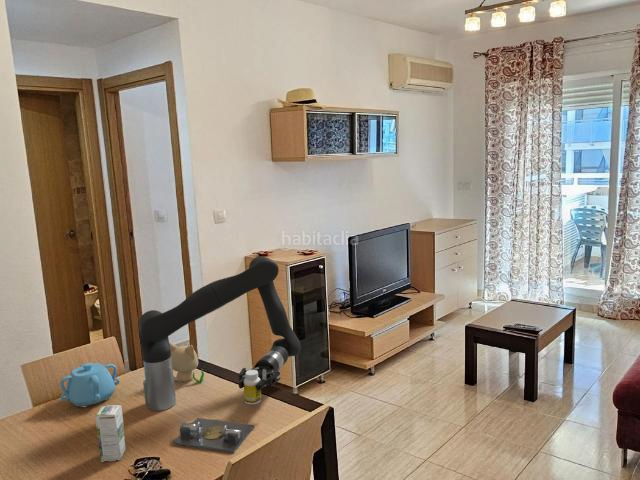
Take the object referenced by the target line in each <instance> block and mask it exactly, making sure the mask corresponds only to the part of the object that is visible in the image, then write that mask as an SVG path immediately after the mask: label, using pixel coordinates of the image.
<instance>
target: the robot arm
mask: <svg viewBox="0 0 640 480" xmlns="http://www.w3.org/2000/svg"><path fill="white" fill-rule="evenodd" d="M279 271H280V270H279V266H278V264H277V263H276V262H275V261H274V260H273V259H271V258H269V257H266V256H260V255H259V256H256V257H254V258H253V259H252V260H251V261H250V262H249V265H248V268H247V269H246V270H244V271H242V272H240V273H238V274H235V275H231V276H228V277H223V278H221V279H220V278H219V279H218V280H215V281H212V282H209V283H207V284H206V285H203V286H201V287H200V288H197V290H195V291H194V292H192V293H191V294H190V295H188V296H187V297H186V298H185V299H184V300H183V301H181V302H180V303H179V304H178V305H176V306H174V307H173V308H171V309H169V310H166V311H165V312H161V311H159V310H156V309H155V310H148V311H146V312H144V313H143V314H142V315H141V316H140V318H139V320H138V333H139V341H140V342H139V343H140V351H141V354H142V362H143V369H144V380H143V382H142V384H143V392H144V400H145V407H146V408H149V410H150V411H155V412H156V411H158V412H159V411H165V410H169V409H170V408H172V407H174V406H175V405H176V404H177V398H176V388H175V381H174V377H175V376H174V370H173V368H172V359H171V349H170V344H169V343H170V341H169V340H170V339H169V336H171V335H172V334H174V333H175V332H177V331H179V330H180V329H182V328H183V327H185V326H187V325H189V324H190V323H192V322H194V321H197V320H199V319H201V318H202V317H205V316H206V315H209V314H210V313H213V312H215V311H216V310H218V309H221V308H222V307H224V306H226V305H228V304H230V303H231V302H233V301H235V300H236V299H238V298H240V297H241V296H243V295H244V294H246V293H248V292H251V291H253V290H256V289H257V290H258V293H259V295H260V298H261V300H262V303H263V304H262V305H263V306H264V311H265V313H266V317H267V320H268V323H269V326H270V330H271V333H272V334H273V335H274V336H278V337H282V338H277V339H276V340H274V341H273V343H272V345H271V348H270V350H269V351H268V352H266V353H265V354H264V355H263V356H262V357H261V358H259V360H258V361H256V363H255V365H254V367H253V368H250V369H248V370H247V368H246V367H243V368H242V369H241V370H240V372H239V374H238V382H237V383H238V388H239V389H241V390H242V389H244V379H245V378H246V374H245V373H246V372H247V371H249V370H256V371H258V377H259V378H260V381H259V382H258V383H257V385H256V389H257V391H259V390H260V389H261V390H262V389H263V388H264V387H266V386H268V387H272V386H274V384H277V383H278V382H279V381H280V380H281V372H280V371H281V370H282V368H283V366H284V365H285V364H286V363H287V361H288V360H289V358H290V357H297V356H298V355H299V354H300V353H301V348H302V346H301V342H300V339H299V337H298V336H297V334H296V333H295V332H294V330H293V328H292V327H291V325H290V322H289V319H288V315H287V312H286V309H285V307H284V304H283V303H282V301H281V298H280V297H279V295H278V292H277V289H276V286H275V282H274V281H275V280H276V279H277V277H278V275H279ZM173 376H174V377H173Z"/></svg>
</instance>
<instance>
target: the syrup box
mask: <svg viewBox="0 0 640 480" xmlns="http://www.w3.org/2000/svg"><path fill="white" fill-rule="evenodd" d="M123 416H124V415H123V409H122V405H121V404H120V405H119V404H114V405H113V404H112V405H104V406H101V407H100V409H99V411H98V412H97V413H96V415H95V416H94V419H95V420H94V421H95V425H96V435H97V436H96V437H97V445H98V453H99V461H109V462H116V460H118V461H121V460H122V459H123V456H124V454H125V452H126V450H127V447H126V435H125V427H124V417H123Z"/></svg>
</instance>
